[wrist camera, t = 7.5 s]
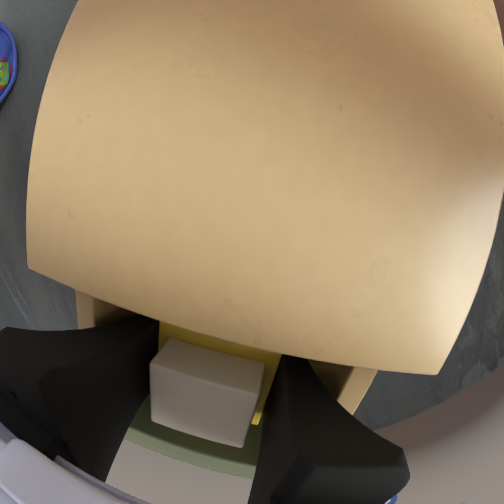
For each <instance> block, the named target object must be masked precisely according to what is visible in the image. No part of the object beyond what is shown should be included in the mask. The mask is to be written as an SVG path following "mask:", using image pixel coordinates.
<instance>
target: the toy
mask: <svg viewBox="0 0 504 504" xmlns="http://www.w3.org/2000/svg"><path fill="white" fill-rule="evenodd" d="M281 357H282V354H281V353H276V352H272V351H267V350H263V349H259V348H254V347H250V346H246V345H242V344H238V343H234V342H230V341H227V340H223V339H219V338H215V337H212V336H208V335H205V334H201V333H198V332H194V331H191V330H187V329H184V328H181V327H178V326H174V325H171V324H168V323H165V322H162V321H160V322H159V344H158V353H157V354H156V356H155V357H154V358H153V359H152V361H151V362H150V403H151V420H152V421H153V422H156V423H159V424H161V425H164V426H167V427H170V428H172V429H175V430H178V431H181V432H184V433H187V434H190V435H194V436H197V437H200V438H204V439H207V440H211V441H214V442H218V443H222V444H226V445H230V446H234V447H239V448H242V447H243V445H244V443H245V440H246V437H247V434H248V431H249V428H250V426H251V424H255V425H258V423H259V420H260V418H261V415H262V412H263V409H264V407H265V404H266V401H267V398H268V395H269V392H270V390H271V387H272V384H273V381H274V378H275V375H276V372H277V369H278V366H279V363H280V360H281Z"/></svg>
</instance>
